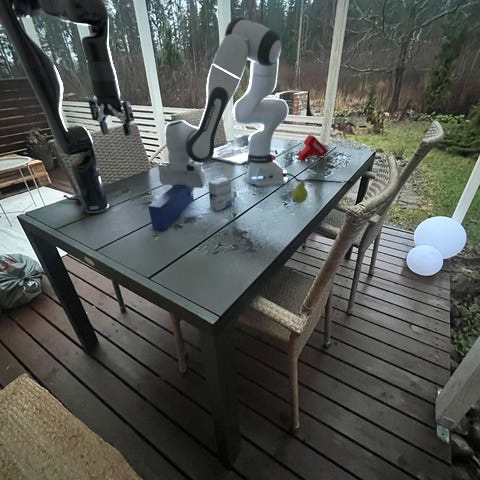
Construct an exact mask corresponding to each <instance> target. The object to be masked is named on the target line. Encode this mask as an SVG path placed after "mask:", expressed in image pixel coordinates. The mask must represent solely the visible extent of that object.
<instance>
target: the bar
mask: <svg viewBox="0 0 480 480" xmlns="http://www.w3.org/2000/svg"><path fill="white" fill-rule="evenodd" d="M189 191H191V189H190V187H187V186H186V185H177V184H176V185H175V186H173V187H172V186H171V188H169V189H168V190H167V191H166V192H164V193H163V194H162V195H160V196H159V197H158V198H157V199H155V200H154V201H153V202H152V203H150V204H149V205H148V206H147V207H148V212H149V216H150V221H151V225H152V226H151V227H152V229H154V230H161V231H166V229H167V228H168V227H169V226H170V225H171V224H172V223H173V222H174V221H175V220H176V219H177V218H178V217H179V216H180V215H181V214H182V213H183V212H184V211H185V210H186V209H187V208H188V207H189V206H190V205H191V204H192V203H194V201H195V199H194V195H193V196H188V195H189V194H188V192H189Z"/></svg>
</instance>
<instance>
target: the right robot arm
mask: <svg viewBox="0 0 480 480" xmlns="http://www.w3.org/2000/svg"><path fill="white" fill-rule="evenodd" d="M282 50H283V42H282V37H281V35H280V34H279V33H278V32H277V31H275V30H274V29H270V28H268V27H267V26H265V25H263V24H261V23H260V22H254V21H252V20H248V19H246V18H244V17H233V19H231V20H230V22H229V23H228V24H227V26H226V29H225V32H224V37H223V40H222V41H221V43H220V45H219V46H218V49H217V51H216V52H215V55H214V57H213V60H212V63H211V65H210V68H209V72H208V76H207V83H206V103H205V108H204V111H203V114H202V116H201V117H202V118H201V120H200V123H199V126H194V125H192V124H190V123H188V122H187V121H185V120H183V119H176V120H172V121H170V122H168V123H167V124H166V125H165V128H164V138H165V146H166V148H167V151H168V152H167V153H168V154H167V159H168V162H167V161H166V162H165V161H161V162H159V163H158V165H157V167H158V171H159V172H158V178H159V182H160V183H161V185H165V186H166V185H168V186H171V188H172V187H173V186H175V185H176V184H177V185H186V186H187V187H190V189H191V191H189V192H188V194H189V195H188V196H193V197H194V190H195V189H203V188H204V187H205V186H207V185H206V184H207V178H206V172H205V170H204V169H203V165H204V164H205V163H207V162H209V161H210V160H211V159H213V158H212V157H213V154H214V149H215V137H216V134H217V131H218V129H219V126H220V123H221V120H222V118H223V115H224V113H225V111H226V109H227V107H228V105H229V103H230V101H231V100H232V98H233V96H234V95H235V92H236V91H237V89H238V87H239V85H240V82H241V80H242V77H243V75H244V71H245V68H246V65H247V61H251V62H250V75H249V76H250V77H249V84H248V88H247V90H246V91H245V93H244V95H243V96H242V97H241V98H240V99H238V100H237V101H236V102H235V103H234V105H233V107H232V108H233V109H232V113H233V118H234V120H235V121H236V122H237V123H239V124H244V125H261V126H260V128H259V129H258V130H256V131H254V132H253V133H251V134H250V135H249V136H248V145H249V152H248V155H247V162H246V163H247V171H246V175H245V177H244V179H245V180H244V181H245V182H246V183H249V184H252V185H255V186H257V187H267V186H279V185H286V184H288V182H289V181H288V180H289V179H288V177H287V176H291V177H292V178H293V179H294V180H295V181H297V182H301V181H302V180H303V179H298V178H297V177H296V176H295V175H293V174H291V173H288V172H287V170H284V169H283V167H282V166H281V165H280V164H279V163H277V162H276V161H275V160H276V158H277V157H276V156H275V154H273V152H271V146H272V139H273V136H274V133H275V131H277V129H278V127H279V126H280V125H281V124H282V123H284V122H285V121H286V119H287V117H288V115H289V106H288V104H287V102H286V100H284V99H280V98H275V97H269V98H268V96H270V95H271V94H272V93H273V92H274V91H275V88H276V87H277V79H278V71H279V60H280V56H281V53H282ZM305 179H306V178H305ZM305 179H304V180H305ZM309 181H310V182H311V181H313V182H322V183H332V184H333V183H335V184H341V183H349V184H351V183H352V182H351V181H350V180H348V181H344V180H343V181H344V182H341V181H342V180H326V179H316V178H307V179H306V180H305V182H309Z"/></svg>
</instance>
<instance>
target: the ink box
mask: <svg viewBox="0 0 480 480" xmlns="http://www.w3.org/2000/svg"><path fill="white" fill-rule="evenodd" d="M207 184H208V194H209V195H208V196H209V207H210V209H212V210H213V211H216V212H218V211H221V210H223V209H225V208H227V207H230V206H232V181H231V179H229V178H227V177H220V178H217V179H214V180H211V181H210V180H209V181H208V183H207Z"/></svg>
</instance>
